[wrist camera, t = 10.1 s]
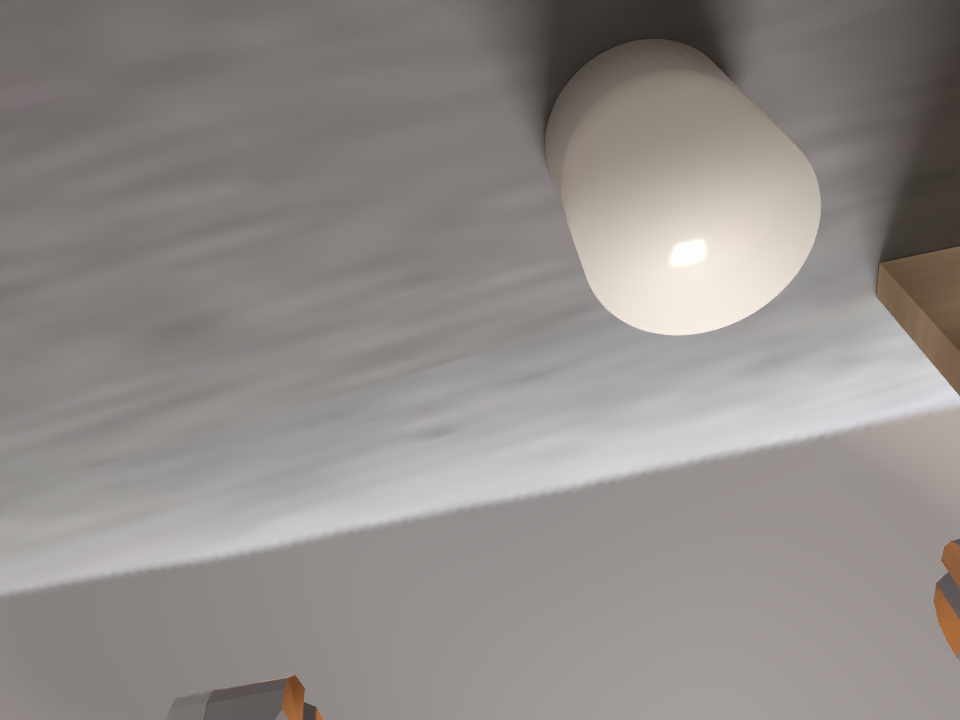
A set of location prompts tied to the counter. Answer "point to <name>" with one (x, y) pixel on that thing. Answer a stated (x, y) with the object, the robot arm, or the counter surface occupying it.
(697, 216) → the cream rounded cylinder
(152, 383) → the counter surface
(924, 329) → the oak counter shelf
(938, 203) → the counter surface
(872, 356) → the counter surface
